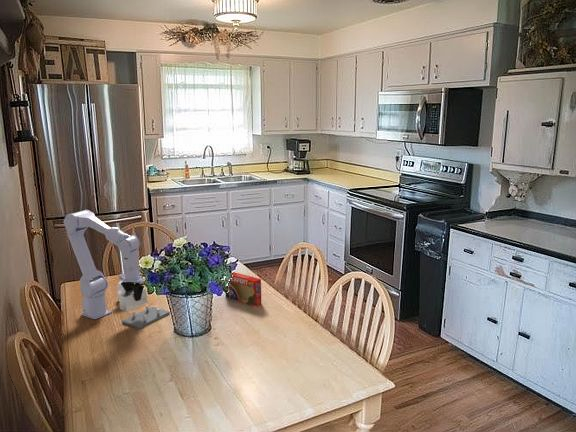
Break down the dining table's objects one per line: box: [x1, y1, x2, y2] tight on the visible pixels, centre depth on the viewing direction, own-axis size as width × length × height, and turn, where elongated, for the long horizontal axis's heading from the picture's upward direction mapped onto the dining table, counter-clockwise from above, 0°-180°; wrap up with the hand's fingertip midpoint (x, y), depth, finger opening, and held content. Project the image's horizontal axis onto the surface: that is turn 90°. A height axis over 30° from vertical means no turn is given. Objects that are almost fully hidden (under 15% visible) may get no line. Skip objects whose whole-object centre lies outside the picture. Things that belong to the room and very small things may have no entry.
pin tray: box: [121, 304, 171, 330], centre depth 184 cm, size 10×16×4 cm, turn 148°
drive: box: [118, 287, 148, 312], centre depth 179 cm, size 4×10×6 cm, turn 147°
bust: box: [116, 280, 125, 299], centre depth 199 cm, size 12×8×11 cm
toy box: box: [225, 271, 262, 308], centre depth 200 cm, size 18×4×12 cm, turn 54°
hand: (134, 299), depth 180 cm, fingers closed on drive, 4 cm apart
